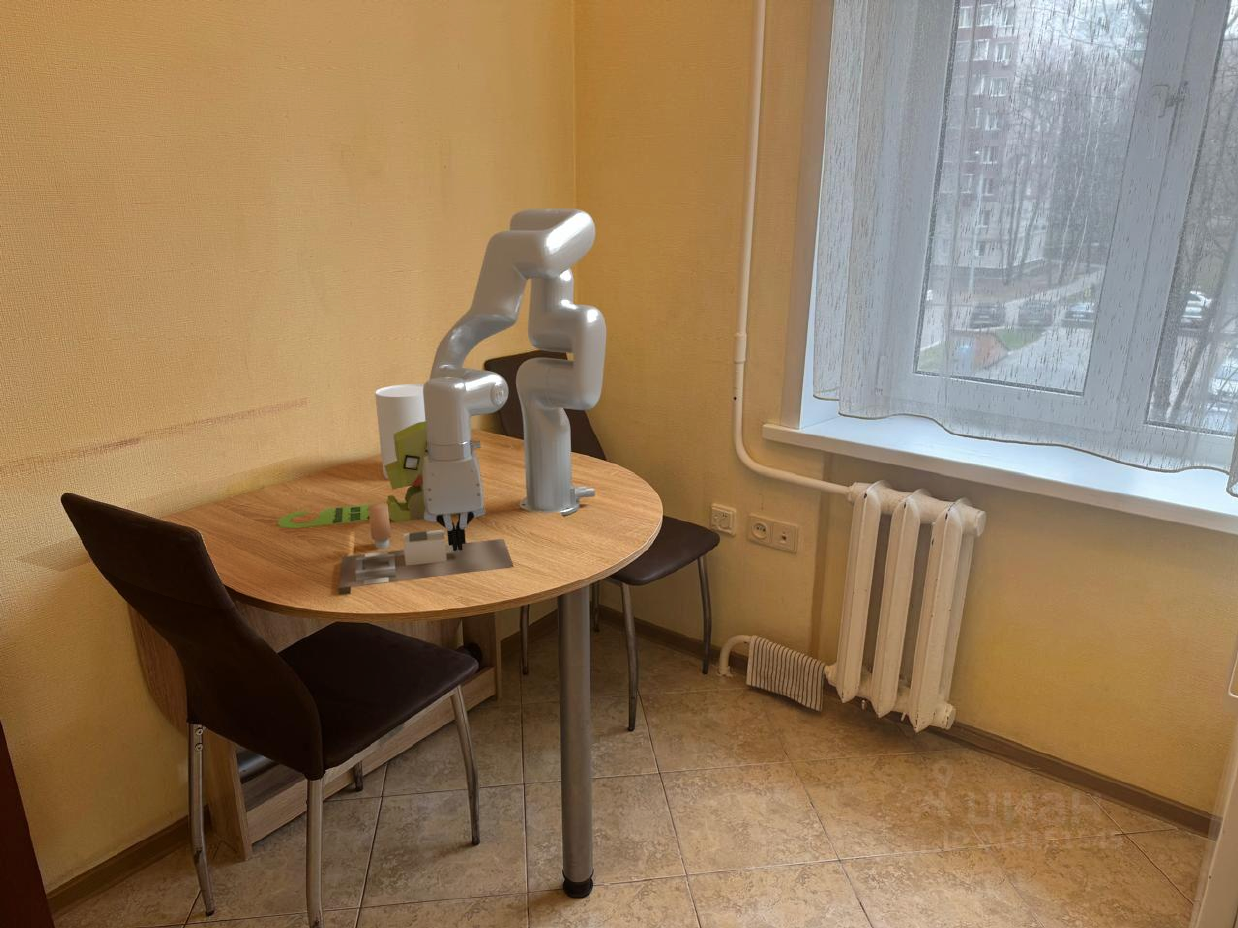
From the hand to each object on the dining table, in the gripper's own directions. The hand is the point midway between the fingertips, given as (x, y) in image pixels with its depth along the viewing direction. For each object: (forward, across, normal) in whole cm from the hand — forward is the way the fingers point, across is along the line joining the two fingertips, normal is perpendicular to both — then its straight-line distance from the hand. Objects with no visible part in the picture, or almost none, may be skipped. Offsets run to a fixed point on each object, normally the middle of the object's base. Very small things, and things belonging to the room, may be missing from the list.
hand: (457, 547), depth 148 cm
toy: (+3, +4, -23) cm, 24 cm away
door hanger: (+3, +21, -30) cm, 37 cm away
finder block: (+1, +6, 0) cm, 6 cm away
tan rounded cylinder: (+3, +13, -8) cm, 16 cm away
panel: (+3, +6, +1) cm, 6 cm away
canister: (+3, +6, -55) cm, 55 cm away
